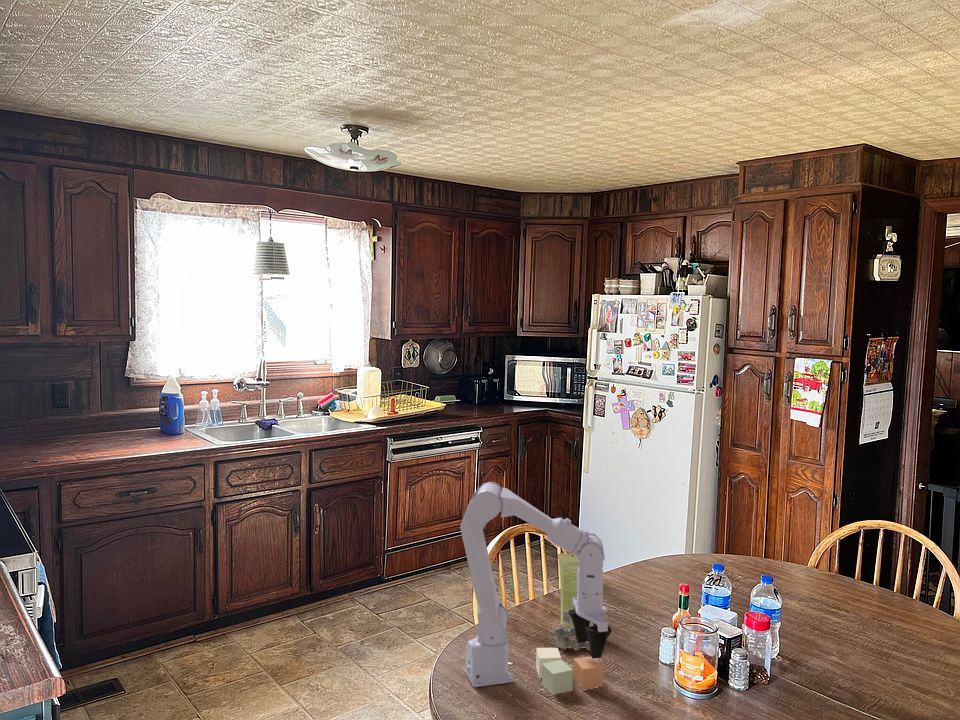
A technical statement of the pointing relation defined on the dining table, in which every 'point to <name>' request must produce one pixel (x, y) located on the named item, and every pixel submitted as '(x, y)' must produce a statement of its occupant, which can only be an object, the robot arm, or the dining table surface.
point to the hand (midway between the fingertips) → (588, 649)
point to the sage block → (557, 677)
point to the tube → (568, 585)
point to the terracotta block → (588, 672)
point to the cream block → (545, 657)
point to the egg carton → (568, 638)
